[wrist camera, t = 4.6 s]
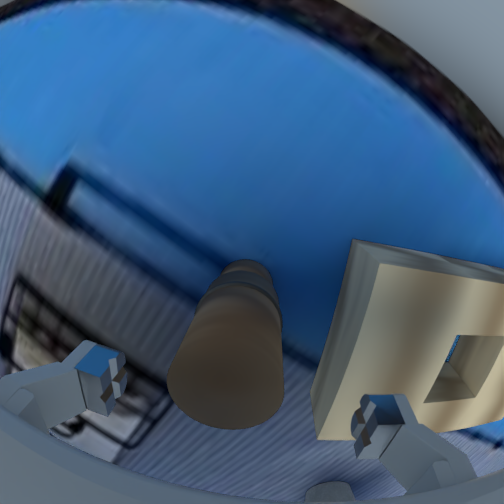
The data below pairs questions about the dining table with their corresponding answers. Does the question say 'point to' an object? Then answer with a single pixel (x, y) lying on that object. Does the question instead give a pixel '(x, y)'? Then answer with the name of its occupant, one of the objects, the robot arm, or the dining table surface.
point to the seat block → (413, 340)
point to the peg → (232, 352)
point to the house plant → (330, 492)
